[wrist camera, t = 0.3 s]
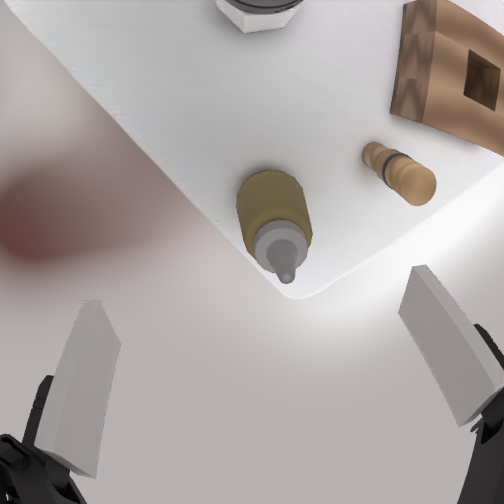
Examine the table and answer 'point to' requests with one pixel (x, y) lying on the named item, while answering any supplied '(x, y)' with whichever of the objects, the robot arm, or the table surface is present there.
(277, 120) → the table surface
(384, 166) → the oak peg
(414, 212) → the table surface
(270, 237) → the squeeze bottle
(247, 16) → the jar
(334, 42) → the table surface
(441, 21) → the walnut socket block
